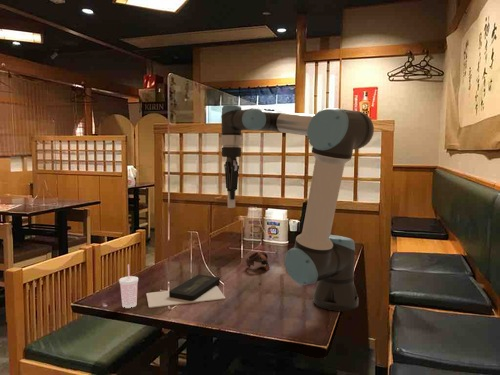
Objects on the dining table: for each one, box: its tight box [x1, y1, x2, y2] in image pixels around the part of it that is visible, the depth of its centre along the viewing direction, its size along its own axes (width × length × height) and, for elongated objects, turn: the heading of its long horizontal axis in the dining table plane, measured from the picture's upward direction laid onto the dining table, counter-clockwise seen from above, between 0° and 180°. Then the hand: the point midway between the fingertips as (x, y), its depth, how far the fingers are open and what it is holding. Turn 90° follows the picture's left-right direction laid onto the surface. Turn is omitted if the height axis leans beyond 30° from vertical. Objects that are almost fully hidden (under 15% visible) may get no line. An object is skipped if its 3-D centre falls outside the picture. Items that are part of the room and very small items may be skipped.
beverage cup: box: [118, 264, 139, 309], centre depth 132 cm, size 6×6×14 cm
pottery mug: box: [245, 251, 270, 272], centre depth 174 cm, size 12×10×8 cm
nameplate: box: [168, 274, 221, 301], centre depth 146 cm, size 21×2×10 cm
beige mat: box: [145, 285, 226, 309], centre depth 140 cm, size 13×26×1 cm, turn 108°
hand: (231, 207), depth 154 cm, fingers closed
